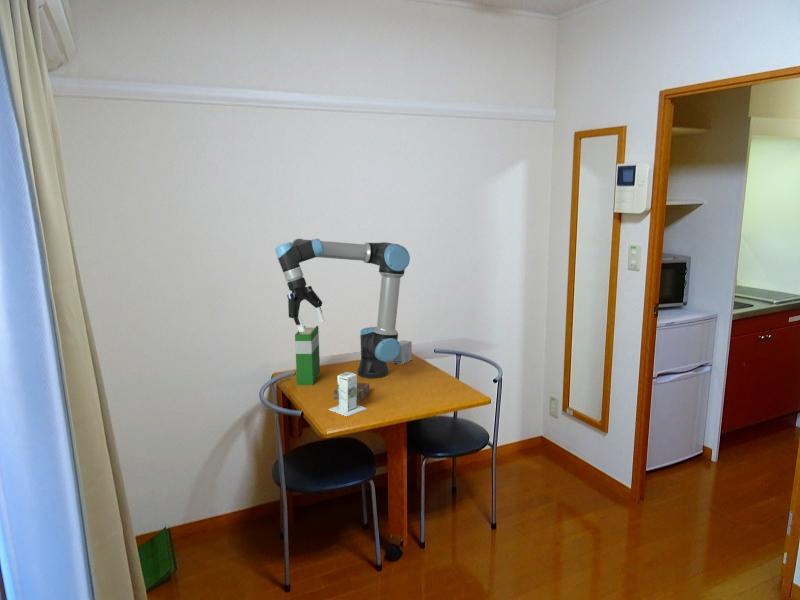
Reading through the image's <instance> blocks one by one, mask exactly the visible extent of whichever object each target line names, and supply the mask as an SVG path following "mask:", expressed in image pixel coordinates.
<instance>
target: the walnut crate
mask: <svg viewBox="0 0 800 600" xmlns="http://www.w3.org/2000/svg"><path fill="white" fill-rule="evenodd" d="M369 393H370V384H369V383H365V382H357V402H359V403H361V402H362V401H363V400H364V399H365V398H366V397H367V395H368V394H369ZM333 399H334V400H335V399H338V386H337V387H336V388H335V389H334V390H333Z"/></svg>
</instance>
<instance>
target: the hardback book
mask: <svg viewBox="0 0 800 600" xmlns="http://www.w3.org/2000/svg"><path fill="white" fill-rule="evenodd" d="M304 328H305V331H303V332H299V330H298V331H297V332H296V333H295V335H294V343H295V348H294V349H295V369H296V370H295V371H296V385H297V386H314V385H315V383H314V382H316V381H317V379H318V378H319V376H320V374H321V363H320V360H321V359H320V335H319V333H320V331H319V329H320V328H319V326H318V325H316V326H315V327H306V325H304ZM319 373H320V374H319ZM318 375H319V376H318ZM317 377H318V378H317Z"/></svg>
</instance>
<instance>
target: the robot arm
mask: <svg viewBox="0 0 800 600" xmlns="http://www.w3.org/2000/svg"><path fill="white" fill-rule="evenodd" d="M275 254H276V257H277V259H278V262H279V266H280V267H281V268H280V269H281V270H282V272H283V276H284V278H285V281H286V282H287V287H288V290H289V291H291V293H287V295H286V297H287V303H288V305H287V307H288V318H289V319H290V318H291V319H293V320H294V323H295V325H296V327H297V329H298V331H299V332H303V331H305V328H306V327H305V328H304V326H305V325H304V323H303V321H302V320H303V319H302V318H301V316H300V315H299V313H300V306H301V302H302V301H306V302H308V303H309V304H310V305H311V306H313V307H314V313H315V316H316V318H317V322H318V323H323V322H325V321H326V320H325V318H324V315H323V311H322V308H321V307H322V306H323V301H322V300H321V298H320V296H318V294H317V293H316V292H315V291H314V289H313V287H312V286H311V285H309V286H307V281H306V279H305V277H303V276H304V273H303V270H302V268H301V265H300V263H302V262H306V261H309V260H312V259H316V258H322V259H323V258H324V259H337V260H348V261H349V260H351V261H363V263H364V264H372V265H376V266H378V272H379V274H380V276H381V281H380V291H379V300H378V301H379V302H378V310H377V311H378V312H377V313H378V314H377V323H376V324H377V325H376V326H369V327H364V328H362V329H361V330H360V335H359V337H360V361H359V365H358V367H357V376H360V377H362V378H365V377H366V378H365V379H378V377H380V378H383V376H384V377H387V376H388V375H389V374H388V373H389V366H388V363H390V362H391V363H392V361H393V360H394V359H396V358H397V357H398V355H399V353H400V350H401V347H400V344H399V340H398V337H399V332H398V330H397V329H396V328H397V327H396V326H397V325H396V324H397V315H398V305H399V295H400V286H401V278H402V277H403V276H405V272H406V271H405V270H406V269H407V267H408V266H409V264H410V259H411V256H410V253H409V251H408V250H407V248H406V247H405V246H403V245H401V244H398V243H392V242H387V241H385V242H365V243H349V242H340V241H339V242H338V241H327V240H325V241H324V240H321V239H320V238H314V239H303V238H296V239H294V240H293V241H292V242H291V241H290V242H286V243H282V244H280V245H278V246H276V247H275Z"/></svg>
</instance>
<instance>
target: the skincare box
mask: <svg viewBox="0 0 800 600" xmlns="http://www.w3.org/2000/svg"><path fill="white" fill-rule="evenodd" d="M398 342H399V344H400V347H401V350H400V353H399V355H398V357H397V358H396V359H394V360H393V361H391V364H392V363H397V364H396V365H398V364H403V365H405V364H407V363H409V362H411V361H410V360H411V359H412V360H413V353H412V350H413V349H412V348H413V347H412V346H413V345H412V341H411V340H398ZM408 361H409V362H408ZM406 362H407V363H406ZM404 363H405V364H404Z"/></svg>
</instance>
